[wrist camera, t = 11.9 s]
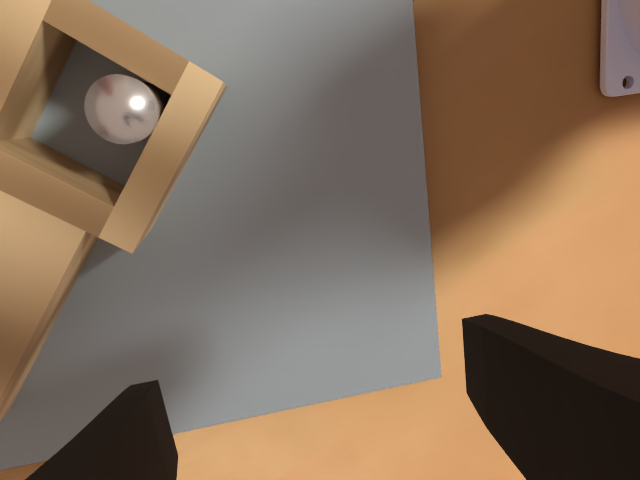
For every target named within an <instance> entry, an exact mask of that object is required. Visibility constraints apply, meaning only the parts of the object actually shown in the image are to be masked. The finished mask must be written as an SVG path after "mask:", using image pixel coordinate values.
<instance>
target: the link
mask: <svg viewBox="0 0 640 480" xmlns="http://www.w3.org/2000/svg"><path fill="white" fill-rule="evenodd" d="M77 40H78V41H79V42H81V43H83V44H85V45H86V46H88V47H90V48H91V49H93V50H95V51H97V52H98V53H100V54H102V55H104V56H105V57H107V58H109V59H110V60H112V61H114V62H116V63H117V64H119V65H121V66H122V67H124V68H126V69H128V70H129V71H131V72H133V73H135V74H136V75H138V76H140V77H141V78H143V79H145V80H147V81H148V82H150V83H152V84H154V85H155V86H157V87H159V88H160V89H162V90H164V91H166V92H167V93H169V94H171V95H172V96H171V97H170V99H169V101H168V103H167V105H166V107H165V109H164V111H163V113H162V115H161V117H160V119H159V121H158V123H157V125H156V127H155V128H154V130H153V132H152V134H151V136H150V138H149V140H148V142H147V144H146V146H145V148H144V150H143V152H142V154H141V156H140V158H139V160H138V161H137V163H136V165H135V167H134V169H133V171H132V173H131V175H130V177H129V179H128V181H127V183H126V185H125V186H124V185H122V184H120V183H118V182H117V181H115V180H113V179H111V178H109V177H107V176H105V175H103V174H101V173H99V172H97V171H95V170H93V169H91V168H89V167H87V166H85V165H84V164H82V163H80V162H78V161H76V160H74V159H72V158H70V157H68V156H66V155H64V154H62V153H60V152H58V151H56V150H54V149H52V148H51V147H49V146H47V145H45V144H43V143H41V142H39V141H37V140H35V139H33V138H31V136H32V134H33V132H34V130H35V128H36V125H37V123H38V121H39V119H40V117H41V115H42V113H43V111H44V109H45V106H46V104H47V102H48V100H49V98H50V96H51V94H52V92H53V90H54V88H55V85H56V83H57V81H58V79H59V77H60V75H61V73H62V71H63V69H64V66H65V64H66V62H67V60H68V58H69V56H70V54H71V52H72V50H73V47H74V45H75V43H76V41H77ZM226 88H227V86H226V85H225V83H224V82H223V81H221V80H220V79H218V78H216V77H215V76H213V75H211V74H210V73H208V72H206V71H205V70H203V69H201V68H200V67H198V66H197V65H195V64H193V63H192V62H190V61H188V60H187V59H185V58H183V57H182V56H180V55H178V54H177V53H175V52H173V51H172V50H170V49H168V48H167V47H165V46H163V45H162V44H160V43H159V42H157V41H155V40H154V39H152V38H150V37H149V36H147V35H145V34H144V33H142V32H140V31H139V30H137V29H135V28H134V27H132V26H130V25H129V24H127V23H126V22H124V21H122V20H121V19H119V18H117V17H116V16H114V15H112V14H111V13H109V12H107V11H106V10H104V9H102V8H101V7H99V6H97V5H96V4H94V3H92V2H91V1H89V0H0V421H1V420H2V418H3V417H4V416H5V415H6V413H7V412H8V411H9V410H10V408H11V406H12V404H13V402H14V400H15V398H16V396H17V394H18V393H19V391H20V389H21V387H22V385H23V383H24V381H25V379H26V377H27V375H28V373H29V371H30V369H31V367H32V365H33V363H34V361H35V360H36V358H37V356H38V354H39V352H40V350H41V348H42V346H43V344H44V342H45V340H46V338H47V336H48V334H49V332H50V330H51V329H52V327H53V325H54V323H55V321H56V319H57V317H58V315H59V313H60V311H61V309H62V307H63V305H64V303H65V301H66V299H67V297H68V296H69V294H70V292H71V290H72V288H73V286H74V284H75V282H76V280H77V278H78V276H79V274H80V272H81V270H82V268H83V266H84V265H85V263H86V261H87V259H88V257H89V255H90V253H91V251H92V249H93V247H94V245H95V243H96V241H97V239H98V238H101V239H103V240H105V241H107V242H109V243H111V244H113V245H115V246H117V247H119V248H121V249H123V250H126V251H128V252H130V253H133V252H134V251H135V250H136V248H137V247H138V246H139V245H140V243H141V242H142V241H143V240H144V238H145V237H146V236H147V235H148V233H149V232H150V231H151V229H152V227H153V225H154V223H155V221H156V219H157V217H158V216H159V214H160V212H161V210H162V208H163V206H164V204H165V202H166V201H167V199H168V197H169V195H170V193H171V191H172V189H173V187H174V186H175V184H176V182H177V180H178V178H179V176H180V174H181V172H182V171H183V169H184V167H185V165H186V163H187V161H188V159H189V157H190V156H191V154H192V152H193V150H194V148H195V146H196V144H197V142H198V140H199V139H200V137H201V135H202V133H203V131H204V129H205V127H206V125H207V124H208V122H209V120H210V118H211V116H212V114H213V112H214V110H215V109H216V107H217V105H218V103H219V101H220V99H221V97H222V95H223V94H224V92H225V90H226Z"/></svg>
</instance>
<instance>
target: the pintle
mask: <svg viewBox="0 0 640 480" xmlns="http://www.w3.org/2000/svg"><path fill="white" fill-rule="evenodd" d="M168 101H169V97H168V95H167V94H166V93H165V92H164V91H163V90H162V89H160V88H159V87H157V86H155V85H154V84H152V83H149V82H145V81H142V80H139V79H136V78H132V77H129V76H126V75H120V74H112V75H107V76H104V77H102V78H100V79H98V80H97V81H95V82H94V83H93V84H92V85H91V87H90V88H89V90H88V92H87V94H86V97H85V103H84V109H85V115H86V118H87V120H88V122H89V124H90V126H91V127H92V129H93V130H94V131H95V132H96V133H97V134H98V135H99V136H101V137H102V138H104V139H105V140H107V141H110V142H113V143H116V144H130V143H135V142H138V141H142V140H146V139H149V138H150V136H151V134H152V132H153V130H154V128H155V127H156V125H157V123H158V121H159V119H160V117H161V115H162V113H163V111H164V109H165V107H166V105H167V103H168Z"/></svg>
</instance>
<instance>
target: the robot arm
mask: <svg viewBox="0 0 640 480" xmlns="http://www.w3.org/2000/svg"><path fill="white" fill-rule="evenodd" d="M624 78H626V80H627V83H626V86H625V87H623V84H622V82H623V79H624ZM600 90H601V92H602V94H603V95H605V96H606V97H616V96H623V95H630V94H636V93H640V0H602V10H601V55H600ZM462 326H463V342H464V358H465V374H466V390H467V394H468V396H469V398H470V400H471V402H472V403H473V405H474V407H475V409H476V411H477V412H478V414H479V416H480V417H481V419H482V421H483V422H484V424H485V426H486V427H487V429H488V430H489V432H490V433H491V434H492V436H493V437H494V438H495V440H496V441H497V442H498V443H499V445H500V446H501V447H502V449H503V450H504V451H505V453H506V454H507V455H508V456H509V458H510V459H511V460H512V462H513V463H514V464H515V465H516V467H517V468H518V469H519V471H520V472H521V473H522V474H523V476H524V477H525V478H526V480H640V359H639V358H634V357H630V356H626V355H622V354H618V353H614V352H610V351H606V350H603V349H599V348H596V347H592V346H588V345H585V344H582V343H578V342H575V341H572V340H569V339H565V338H562V337H559V336H556V335H553V334H550V333H547V332H544V331H541V330H538V329H535V328H532V327H529V326H526V325H523V324H520V323H517V322H514V321H511V320H507V319H504V318H501V317H497V316H493V315H488V314H484V315H479V316H474V317H469V318H464V319H462ZM177 464H178V453H177V450H176V446H175V442H174V438H173V434H172V431H171V427H170V423H169V419H168V415H167V412H166V408H165V404H164V400H163V396H162V393H161V389H160V385H159V381H158V380H154V381H149V382H144V383H139V384H134V385H130V386H129V387H128V388H126V389H125V390H124V391H123V392H121V393H120V394H119V395H118V396H117V397H116V398H115V399H114V400H113V401H112V402H111V403H110V404H109V405H107V406H106V407H105V408H104V409H103V410H102V411H101V412H100V413H99V414H98V415H97V416H96V417H95V418H94V419H93V420H92V421H91V422H90V423H89V424H87V425H86V426H85V427H84V428H83V429H82V430H81V431H80V432H79V433H78V434H77V435H76V436H75V437H74V438H73V439H72V440H70V441H69V442H68V443H67V444H66V445H65V446H64V447H62V448H61V449H60V450H59V451H58V452H57V453H56V454H54V455H53V456H52V457H51V458H50V459H49V460H48V461H46V462H45V463H44V464H43V465H42V466H41V467H40V468H38V469H37V470H36V471H35V472H34V473H33V474H31V475H30V476H29V477H28V478H27V479H25V480H176V478H177Z"/></svg>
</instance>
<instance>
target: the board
mask: <svg viewBox="0 0 640 480" xmlns="http://www.w3.org/2000/svg"><path fill="white" fill-rule="evenodd" d="M89 1H91V2H92V3H94V4H96V5H97V6H99V7H101V8H102V9H104V10H106V11H107V12H109V13H111V14H112V15H114V16H116V17H117V18H119V19H121V20H122V21H124V22H126V23H127V24H129V25H130V26H132V27H134V28H135V29H137V30H139V31H140V32H142V33H144V34H145V35H147V36H149V37H150V38H152V39H154V40H155V41H157V42H159V43H160V44H162V45H163V46H165V47H167V48H168V49H170V50H172V51H173V52H175V53H177V54H178V55H180V56H182V57H183V58H185V59H187V60H188V61H190V62H192V63H193V64H195V65H197V66H198V67H200V68H201V69H203V70H205V71H206V72H208V73H210V74H211V75H213V76H215V77H216V78H218V79H220V80H221V81H223V82H224V83H225V85H226V86H227V88H226V90H225V92H224V94H223V95H222V97H221V99H220V101H219V103H218V105H217V107H216V109H215V110H214V112H213V114H212V116H211V118H210V120H209V122H208V124H207V125H206V127H205V129H204V131H203V133H202V135H201V137H200V139H199V140H198V142H197V144H196V146H195V148H194V150H193V152H192V154H191V156H190V157H189V159H188V161H187V163H186V165H185V167H184V169H183V171H182V172H181V174H180V176H179V178H178V180H177V182H176V184H175V186H174V187H173V189H172V191H171V193H170V195H169V197H168V199H167V201H166V202H165V204H164V206H163V208H162V210H161V212H160V214H159V216H158V217H157V219H156V221H155V223H154V225H153V227H152V229H151V231H150V232H149V233H148V235H147V236H146V237H145V238H144V240H143V241H142V242H141V243H140V245H139V246H138V247H137V248H136V250H135V251H134V252H133V253H130V252H128V251H126V250H123V249H121V248H119V247H117V246H115V245H113V244H111V243H109V242H107V241H105V240H103V239H101V238H98V239H97V241H96V243H95V245H94V247H93V249H92V251H91V253H90V255H89V257H88V259H87V261H86V263H85V265H84V266H83V268H82V270H81V272H80V274H79V276H78V278H77V280H76V282H75V284H74V286H73V288H72V290H71V292H70V294H69V296H68V297H67V299H66V301H65V303H64V305H63V307H62V309H61V311H60V313H59V315H58V317H57V319H56V321H55V323H54V325H53V327H52V329H51V330H50V332H49V334H48V336H47V338H46V340H45V342H44V344H43V346H42V348H41V350H40V352H39V354H38V356H37V358H36V360H35V361H34V363H33V365H32V367H31V369H30V371H29V373H28V375H27V377H26V379H25V381H24V383H23V385H22V387H21V389H20V391H19V393H18V394H17V396H16V398H15V400H14V402H13V404H12V406H11V408H10V410H9V411H8V412H7V413H6V415H5V416H4V417H3V418H2V420H1V421H0V470H5V469H10V468H15V467H19V466H24V465H29V464H33V463H38V462H43V461H48V460H49V459H50V458H51V457H52V456H53V455H54V454H56V453H57V452H58V451H59V450H60V449H61V448H62V447H64V446H65V445H66V444H67V443H68V442H69V441H70V440H72V439H73V438H74V437H75V436H76V435H77V434H78V433H79V432H80V431H81V430H82V429H83V428H84V427H85V426H86V425H87V424H89V423H90V422H91V421H92V420H93V419H94V418H95V417H96V416H97V415H98V414H99V413H100V412H101V411H102V410H103V409H104V408H105V407H106V406H107V405H109V404H110V403H111V402H112V401H113V400H114V399H115V398H116V397H117V396H118V395H119V394H120V393H121V392H123V391H124V390H125V389H126V388H128V387H129V386H130V385H134V384H139V383H144V382H149V381H154V380H158V381H159V385H160V389H161V393H162V396H163V400H164V404H165V408H166V412H167V415H168V419H169V423H170V427H171V431H172V434H175V433H180V432H185V431H190V430H194V429H199V428H204V427H209V426H213V425H218V424H223V423H227V422H232V421H237V420H242V419H246V418H251V417H256V416H261V415H265V414H270V413H275V412H279V411H284V410H289V409H294V408H298V407H303V406H308V405H313V404H317V403H322V402H327V401H332V400H336V399H341V398H346V397H350V396H355V395H360V394H365V393H369V392H374V391H379V390H384V389H388V388H393V387H398V386H403V385H407V384H412V383H417V382H421V381H426V380H431V379H436V378H440V377H441V364H440V351H439V338H438V325H437V312H436V299H435V286H434V273H433V260H432V247H431V234H430V221H429V208H428V194H427V181H426V168H425V155H424V142H423V129H422V116H421V103H420V90H419V77H418V64H417V51H416V38H415V25H414V12H413V0H89ZM112 74H120V75H126V76H129V77H132V78H136V79H139V80H142V81H145V82H148V81H147V80H145V79H143V78H141V77H140V76H138V75H136V74H135V73H133V72H131V71H129V70H128V69H126V68H124V67H122V66H121V65H119V64H117V63H116V62H114V61H112V60H110V59H109V58H107V57H105V56H104V55H102V54H100V53H98V52H97V51H95V50H93V49H91V48H90V47H88V46H86V45H85V44H83V43H81V42H79V41H78V40H77V41H76V43H75V45H74V47H73V50H72V52H71V54H70V56H69V58H68V60H67V62H66V64H65V66H64V69H63V71H62V73H61V75H60V77H59V79H58V81H57V83H56V85H55V88H54V90H53V92H52V94H51V96H50V98H49V100H48V102H47V104H46V106H45V109H44V111H43V113H42V115H41V117H40V119H39V121H38V123H37V125H36V128H35V130H34V132H33V134H32V136H31V138H33V139H35V140H37V141H39V142H41V143H43V144H45V145H47V146H49V147H51V148H52V149H54V150H56V151H58V152H60V153H62V154H64V155H66V156H68V157H70V158H72V159H74V160H76V161H78V162H80V163H82V164H84V165H85V166H87V167H89V168H91V169H93V170H95V171H97V172H99V173H101V174H103V175H105V176H107V177H109V178H111V179H113V180H115V181H117V182H118V183H120V184H122V185H124V186H125V185H126V183H127V181H128V179H129V177H130V175H131V173H132V171H133V169H134V167H135V165H136V163H137V161H138V160H139V158H140V156H141V154H142V152H143V150H144V148H145V146H146V144H147V142H148V140H149V139H146V140H142V141H138V142H135V143H130V144H116V143H113V142H110V141H107V140H105V139H104V138H102V137H101V136H99V135H98V134H97V133H96V132H95V131H94V130H93V129H92V127H91V126H90V124H89V122H88V120H87V118H86V115H85V109H84V103H85V97H86V94H87V92H88V90H89V88H90V87H91V85H92V84H93V83H94V82H95V81H97V80H98V79H100V78H102V77H104V76H107V75H112ZM149 83H150V82H149ZM163 91H164V90H163ZM164 92H165V93H166V94H167V95H168V97H169V99H170V97H171V96H172V95H171V94H169V93H167V92H166V91H164Z"/></svg>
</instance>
